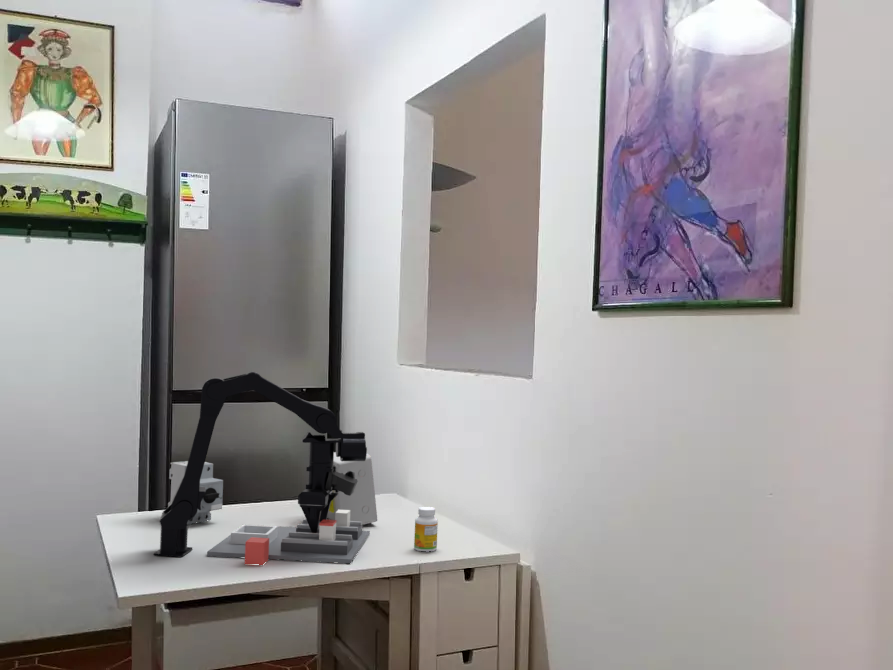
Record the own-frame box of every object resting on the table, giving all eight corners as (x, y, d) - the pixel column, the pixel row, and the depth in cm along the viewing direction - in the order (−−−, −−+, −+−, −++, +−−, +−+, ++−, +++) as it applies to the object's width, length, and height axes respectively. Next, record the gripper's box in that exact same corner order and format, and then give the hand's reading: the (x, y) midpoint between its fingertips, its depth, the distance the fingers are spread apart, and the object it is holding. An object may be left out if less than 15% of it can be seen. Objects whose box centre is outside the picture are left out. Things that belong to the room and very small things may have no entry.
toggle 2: (346, 529, 195) (347, 513, 195) (334, 528, 196) (335, 512, 196) (349, 525, 199) (350, 510, 199) (337, 524, 200) (338, 509, 200)
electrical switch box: (306, 526, 219) (299, 453, 218) (358, 514, 226) (350, 444, 225) (324, 539, 206) (316, 462, 205) (378, 526, 213) (370, 451, 212)
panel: (350, 564, 176) (351, 546, 176) (207, 556, 178) (207, 538, 178) (369, 535, 203) (370, 519, 203) (244, 528, 205) (245, 513, 205)
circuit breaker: (200, 529, 202) (203, 469, 203) (167, 520, 211) (169, 462, 211) (225, 524, 208) (227, 466, 209) (192, 515, 217) (194, 459, 217)
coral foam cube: (263, 566, 172) (263, 542, 172) (244, 565, 172) (245, 541, 172) (268, 561, 176) (269, 538, 176) (250, 560, 176) (251, 537, 176)
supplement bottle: (410, 547, 193) (412, 506, 193) (432, 545, 195) (433, 505, 195) (418, 552, 188) (419, 511, 188) (439, 551, 190) (441, 510, 190)
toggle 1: (332, 543, 181) (333, 524, 181) (318, 542, 182) (319, 523, 182) (335, 538, 186) (336, 520, 186) (322, 538, 186) (323, 519, 186)
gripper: (348, 469, 179) (345, 539, 178) (361, 457, 197) (359, 521, 197) (298, 467, 179) (295, 537, 179) (316, 455, 198) (314, 519, 198)
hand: (318, 528), depth 188 cm, fingers open, 9 cm apart
